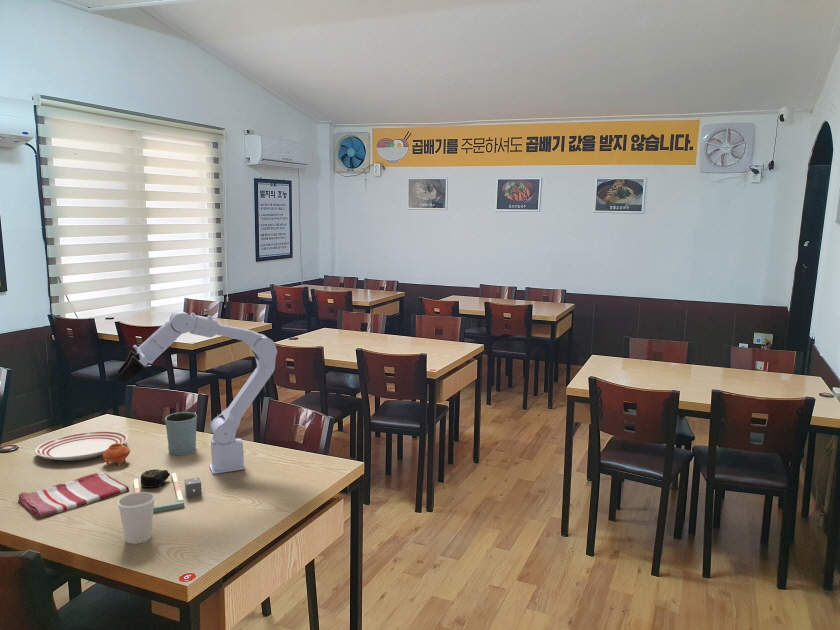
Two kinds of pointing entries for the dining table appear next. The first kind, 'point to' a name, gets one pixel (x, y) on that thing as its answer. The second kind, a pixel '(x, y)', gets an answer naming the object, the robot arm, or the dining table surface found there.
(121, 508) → the dixie cup
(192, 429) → the teal cylindrical container
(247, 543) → the dining table surface
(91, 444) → the dinner plate
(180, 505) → the track
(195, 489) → the die
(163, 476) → the tape measure
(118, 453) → the pot
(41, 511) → the dish towel
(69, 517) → the dining table surface
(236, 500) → the dining table surface
